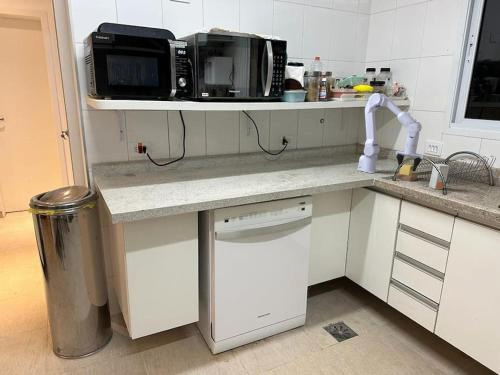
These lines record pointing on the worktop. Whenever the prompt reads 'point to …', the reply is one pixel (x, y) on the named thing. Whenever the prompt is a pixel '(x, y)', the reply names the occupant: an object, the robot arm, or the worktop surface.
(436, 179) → the skincare box
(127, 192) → the worktop surface
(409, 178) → the trivet
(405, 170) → the block
